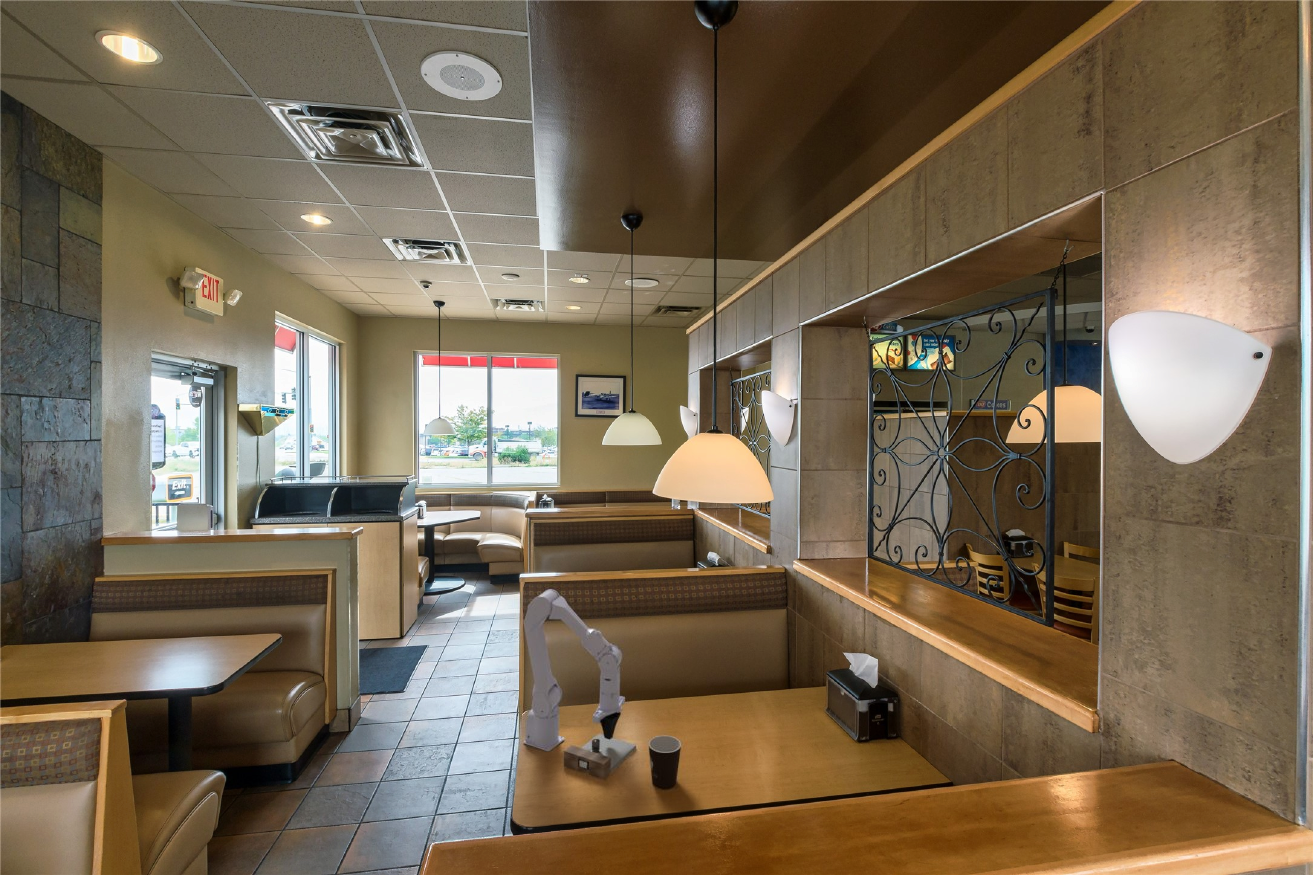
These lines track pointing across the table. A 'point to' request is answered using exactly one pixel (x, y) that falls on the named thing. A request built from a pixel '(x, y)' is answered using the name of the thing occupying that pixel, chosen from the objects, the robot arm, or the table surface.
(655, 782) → the coffee mug
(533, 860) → the table surface
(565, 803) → the table surface
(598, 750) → the bolt
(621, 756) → the door panel
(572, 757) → the block
